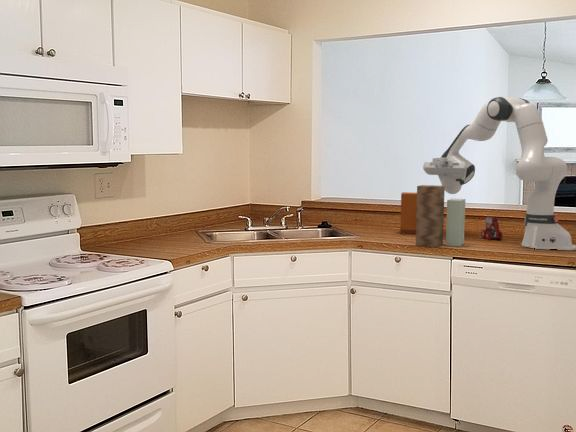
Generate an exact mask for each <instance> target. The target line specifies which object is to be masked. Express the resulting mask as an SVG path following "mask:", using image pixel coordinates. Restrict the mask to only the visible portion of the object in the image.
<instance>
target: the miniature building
mask: <svg viewBox="0 0 576 432" xmlns="http://www.w3.org/2000/svg"><path fill="white" fill-rule="evenodd" d="M416 212H417V192H401V194H400V230H399V234H401V235H415V236H416Z"/></svg>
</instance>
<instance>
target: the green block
mask: <svg viewBox="0 0 576 432" xmlns="http://www.w3.org/2000/svg"><path fill="white" fill-rule="evenodd" d="M465 220H466V198H449V199H447V200H446V221H445V223H446V227H445V229H446V230H445V246H447V247H448V246H449V247H461V246H463V245H464V244H465V228H466V227H465V222H466V221H465Z"/></svg>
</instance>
